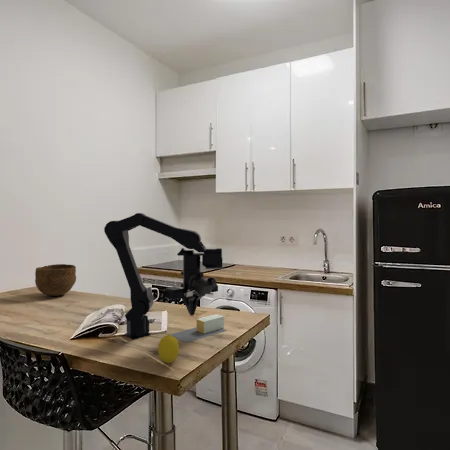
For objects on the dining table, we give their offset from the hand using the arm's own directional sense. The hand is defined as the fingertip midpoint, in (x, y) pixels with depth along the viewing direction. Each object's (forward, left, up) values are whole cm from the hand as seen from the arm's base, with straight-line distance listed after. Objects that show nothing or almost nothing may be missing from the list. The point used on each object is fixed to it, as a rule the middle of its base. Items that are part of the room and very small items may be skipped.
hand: (191, 315), depth 115 cm
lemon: (-18, -14, -7) cm, 24 cm away
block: (+3, 0, -4) cm, 5 cm away
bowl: (-17, +94, -7) cm, 96 cm away
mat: (+3, 0, -7) cm, 7 cm away
